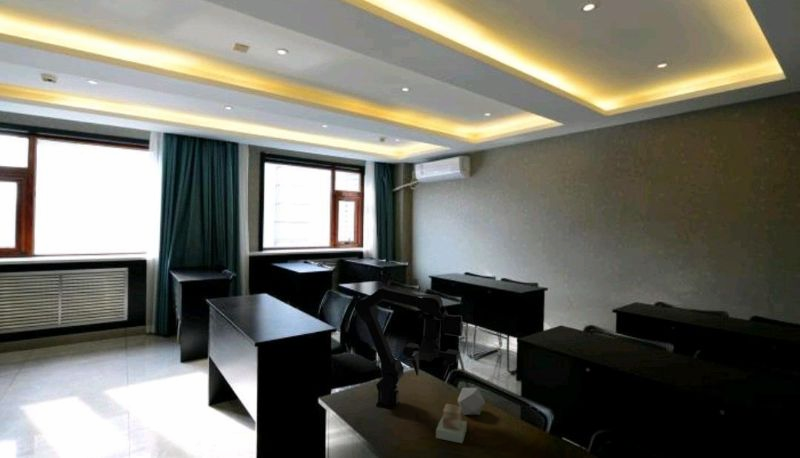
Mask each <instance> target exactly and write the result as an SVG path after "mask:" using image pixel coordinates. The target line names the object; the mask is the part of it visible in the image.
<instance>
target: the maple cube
mask: <svg viewBox="0 0 800 458" xmlns="http://www.w3.org/2000/svg"><path fill="white" fill-rule="evenodd" d="M462 414H463V412H462V406H460V405H459V404H458V405H457V404H451V403H445V406H444V408H443V410H442V417H443V427H445V428H450V429H456V430H459V429H460V425H461V420H462V416H463V415H462Z"/></svg>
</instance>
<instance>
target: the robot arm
mask: <svg viewBox="0 0 800 458" xmlns="http://www.w3.org/2000/svg"><path fill="white" fill-rule="evenodd" d="M384 300H385V301H389V302H394V303H398V304H402V305H406V306H411V307H413V308H416V309H418V310H419V311H421V312H422V313H421V314H420V315H419V316H418V317H417V318H418V319H420V320H423V336H422V341H421V344H420V346H419V343H412V342H408V343H407V344H406V345H405V346H404V347H403V349H402V354H403V356H406V358H408V359H409V360H410V361H411V363H412V365H413V367H414V368H413V369H414V372H415V375H416V376H419V374H420V373H419V372H420V361H427V362H432V361H434V359H436V358H437V359H438V358H444V361H443V368H442V377H441V379H442V381H444V380H445V378H446V375H447V372H448V370H449V367H450V366H453V365H454V364H455V365H456V364H457V363H458V362H459V359H460V352H459V350H458V349H451V348H448V349H447V350H446V351H442V350H441V335H442V334H441V331H442V333H443V334H444V335H447V336H455V337H462V336H463V331H464V323H463V315H461V314H457V315H454V314H449V312H448V310H447V309H446V308H445V306H444V305H443V304H444V303H443V299H442V298H441V296H439V295H438V294H430V293H429V294H418V293H417V294H416V293H411V292H407V291H403V290H398V289H394V288H389V287H387V286H382V287H380V288H378V289H377V290H376V291H375V292H373V293H371V294H370V295H368V296H365V297H362V298H361V299H357V301H355V304H354V311H355V312H356V314H357V316H358V317H359V319H360V320H361V321H362V322H363V323H364V324H365V326H366V328H367V331H368V333H369V336H370V338H371V340H372V342H373V343H372V344H373V346H374V348H375V350H376V354H377V355H378V359H379V360H380V373H381V378H380V380H378V382H376V384H375V386H376V389H377V390H376V391H377V402H376V403H375V406H376V407H379V408H386V409H391V410H393V409H394V408H395V407H396V405H398V404H399V398H400V397H399V395H400V394H399V393H400V392H399V390H398V385H397V384H398V383H399V382H400V380H401V379H402V378H403V376H404V369H405V367H404V366H403V364H402V360H401V358H400V357H399V358H396V357H394V356H393V353H392V350H391V348H390V345H389V343H388V340H387V338H386V336H385V333H384V330H383V329H382V326H381V324H380V321H379V315H378V314H379V313H378V311H379V310H378V306H377V305H378V304H379V303H381V302H382V301H384Z"/></svg>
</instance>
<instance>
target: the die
mask: <svg viewBox="0 0 800 458" xmlns="http://www.w3.org/2000/svg"><path fill="white" fill-rule="evenodd" d="M457 403H458V406H462V414H463V415H464V416H480V414H481V412H482V409H483V408H484V406H485V403H486V401H485V399H484V396H483V395H482V393H481V391H480V389H479V388H478V387H462V388H461V391H460V393H459V395H458V398H457Z"/></svg>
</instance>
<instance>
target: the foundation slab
mask: <svg viewBox="0 0 800 458" xmlns="http://www.w3.org/2000/svg"><path fill="white" fill-rule="evenodd" d="M467 425H468V422H467V421H466V420H462V419H461V425H460V429H459V430H456V429H450V428H445V427H443V416H441V418H440V420H439V422H438V424H437V427H436V429H435V438H436V439H440V440H445V441H449V442H454V443H459V444H463V442H464V440H465V437H466V433H467V430H468V429H467Z"/></svg>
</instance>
